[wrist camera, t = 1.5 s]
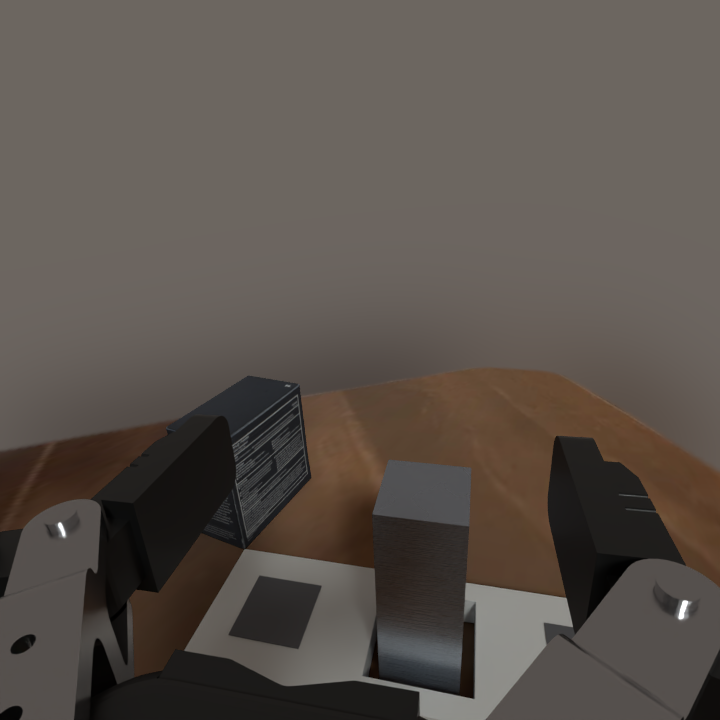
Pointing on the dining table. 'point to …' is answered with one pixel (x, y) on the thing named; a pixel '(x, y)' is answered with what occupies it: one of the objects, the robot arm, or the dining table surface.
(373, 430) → the dining table surface
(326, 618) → the white slotted plate
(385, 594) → the brushed metal pillar
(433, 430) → the dining table surface
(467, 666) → the dining table surface
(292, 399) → the small box
